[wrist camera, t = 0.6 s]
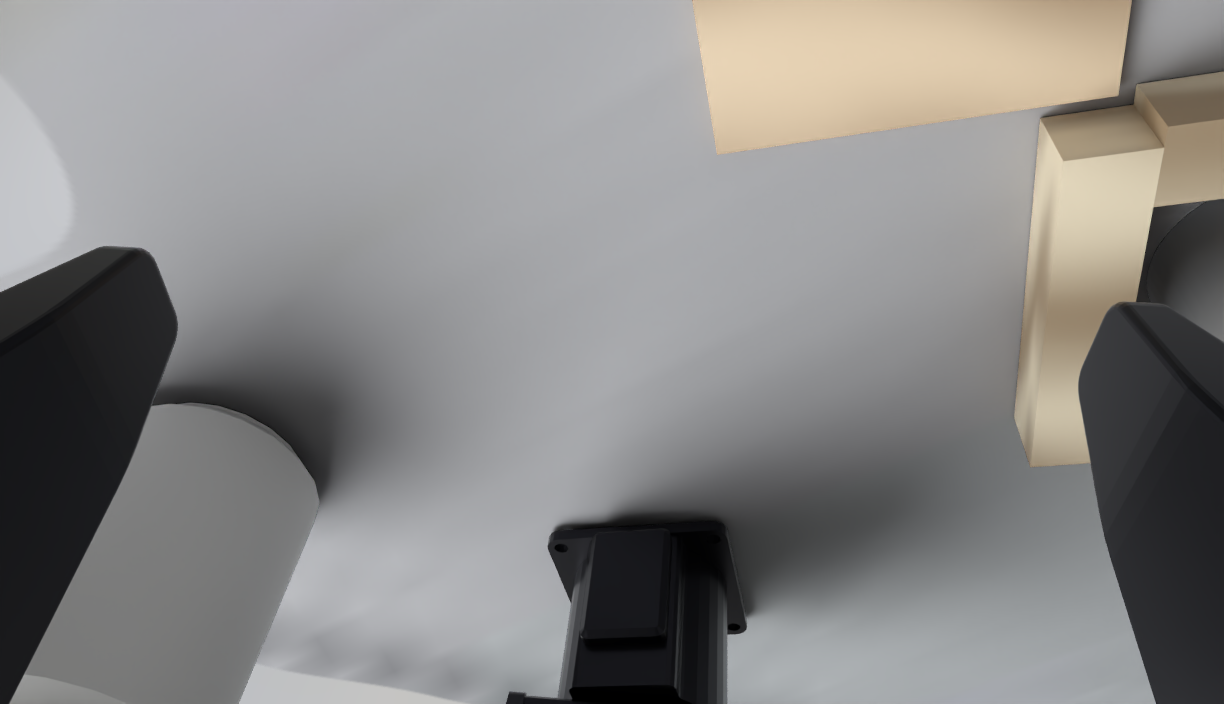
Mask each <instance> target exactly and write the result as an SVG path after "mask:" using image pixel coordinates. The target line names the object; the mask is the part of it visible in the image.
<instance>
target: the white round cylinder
mask: <svg viewBox="0 0 1224 704" xmlns="http://www.w3.org/2000/svg"><path fill="white" fill-rule="evenodd" d="M1147 292H1148V296H1149V299H1150V302H1151V303H1160V304H1164V305H1167V306H1168V307H1170V308H1172V309H1173V310H1175V311H1176V312H1178V313H1179V314H1181V315H1183V316H1184V317H1186V318H1187V319H1189V320H1190V321H1192V322H1193V323H1195V324H1196V325H1198V326H1200V327H1201V328H1203V329H1204V330H1206V331H1207V332H1209V333H1210V334H1212V335H1213V336H1215V337H1216V338H1218V339H1220V340H1221V341H1223V342H1224V199H1216V200H1209V201H1207V202H1205V203H1204V204H1202V205H1201V206H1199V207H1198V208H1196V209H1195V210H1193V211H1192V212H1191V213H1189V214H1188V215H1187V216H1186V217H1185V218H1183V219H1182V220H1181V221H1180V222H1179V223H1178V224H1177V225H1176V226H1175V227H1174V228H1173V229H1172V230H1171V231H1170V232H1169V233H1168V234H1167V236H1166V237H1165V238H1164V239H1163V241H1162V242H1161V244H1160V245H1159V247H1158V248H1157V250H1156V252H1155V254H1154V256H1153V258H1152V260H1151V263H1150V266H1149V270H1148V274H1147Z"/></svg>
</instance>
